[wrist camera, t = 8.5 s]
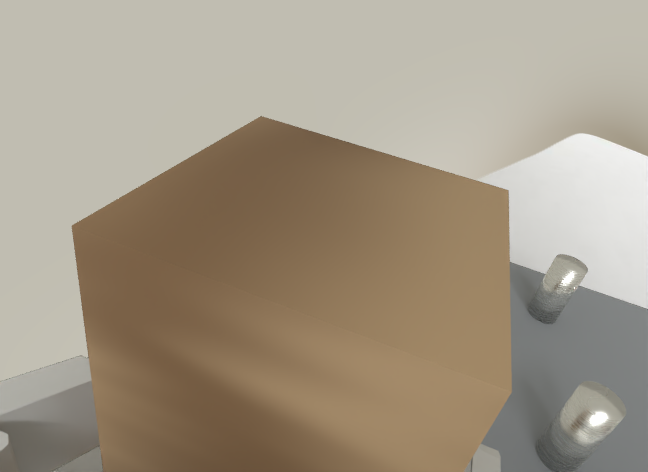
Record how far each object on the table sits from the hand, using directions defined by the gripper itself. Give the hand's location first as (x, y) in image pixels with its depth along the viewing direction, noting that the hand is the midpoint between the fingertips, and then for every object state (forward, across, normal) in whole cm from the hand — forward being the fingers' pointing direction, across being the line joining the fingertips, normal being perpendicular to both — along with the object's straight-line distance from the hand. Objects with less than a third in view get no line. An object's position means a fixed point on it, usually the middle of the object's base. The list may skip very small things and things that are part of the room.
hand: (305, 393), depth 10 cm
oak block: (-1, 0, +7) cm, 7 cm away
